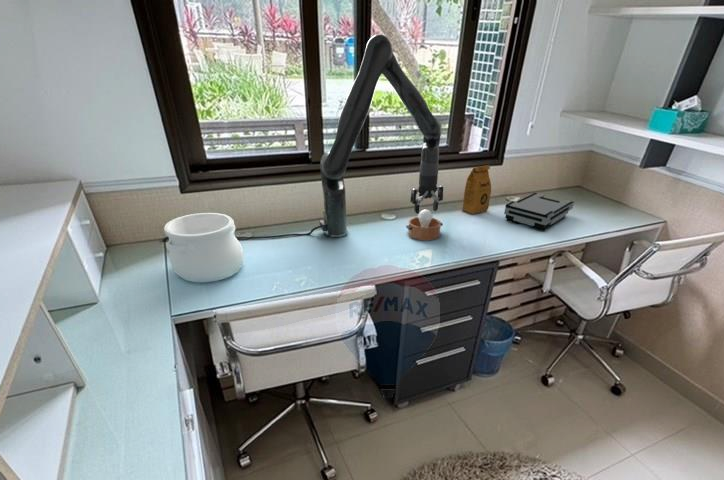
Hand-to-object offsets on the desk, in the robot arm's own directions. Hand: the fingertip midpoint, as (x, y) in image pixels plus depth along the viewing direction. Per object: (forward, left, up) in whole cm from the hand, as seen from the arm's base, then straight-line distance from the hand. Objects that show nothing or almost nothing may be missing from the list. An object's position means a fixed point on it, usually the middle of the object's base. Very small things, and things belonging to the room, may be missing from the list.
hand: (425, 211), depth 174 cm
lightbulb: (0, 0, -10) cm, 10 cm away
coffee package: (+38, +18, -10) cm, 44 cm away
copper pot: (0, 0, -10) cm, 10 cm away
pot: (-90, -5, -10) cm, 90 cm away
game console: (+62, -1, -10) cm, 63 cm away
